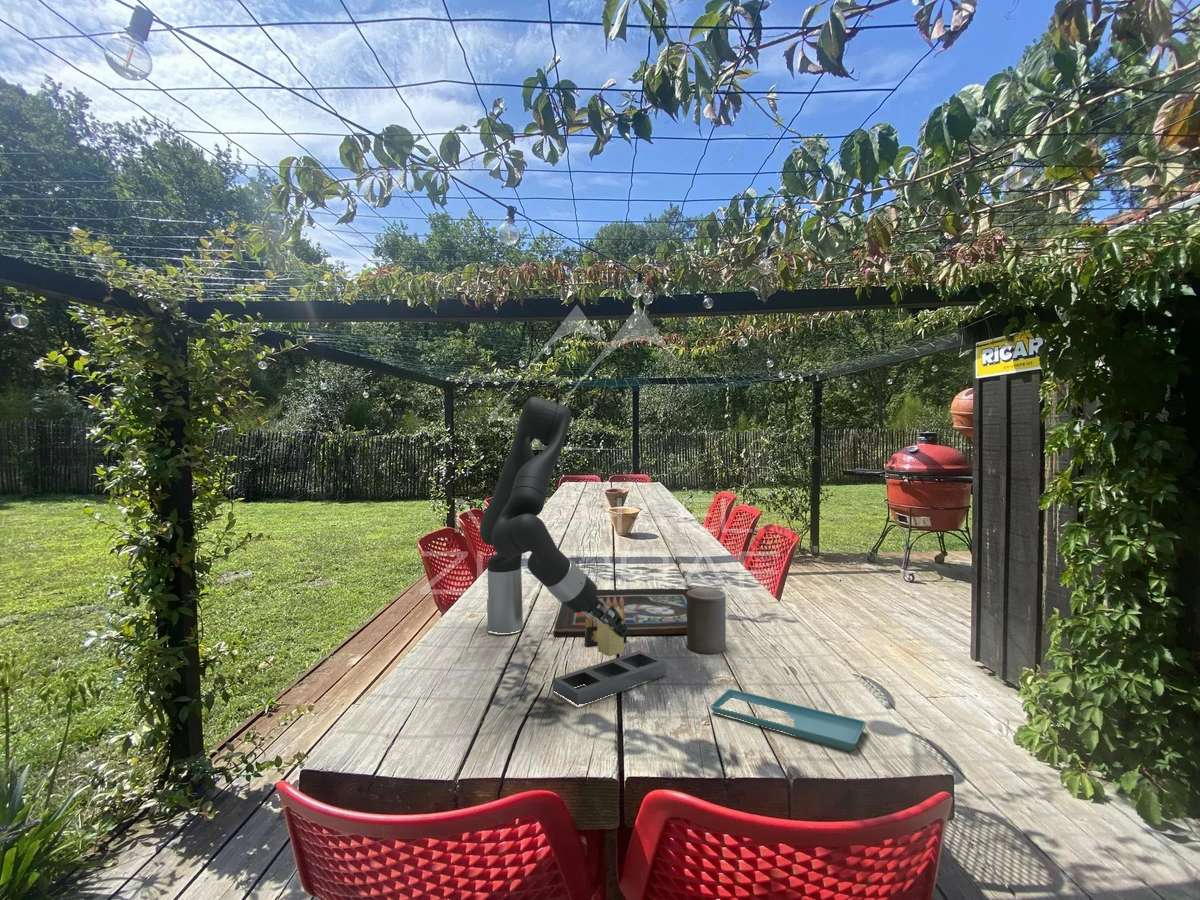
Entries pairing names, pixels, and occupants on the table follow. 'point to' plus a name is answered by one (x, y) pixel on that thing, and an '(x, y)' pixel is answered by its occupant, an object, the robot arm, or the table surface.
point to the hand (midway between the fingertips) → (617, 630)
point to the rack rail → (598, 674)
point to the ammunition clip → (592, 626)
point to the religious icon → (635, 612)
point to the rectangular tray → (800, 721)
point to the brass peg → (609, 638)
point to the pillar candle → (706, 621)
